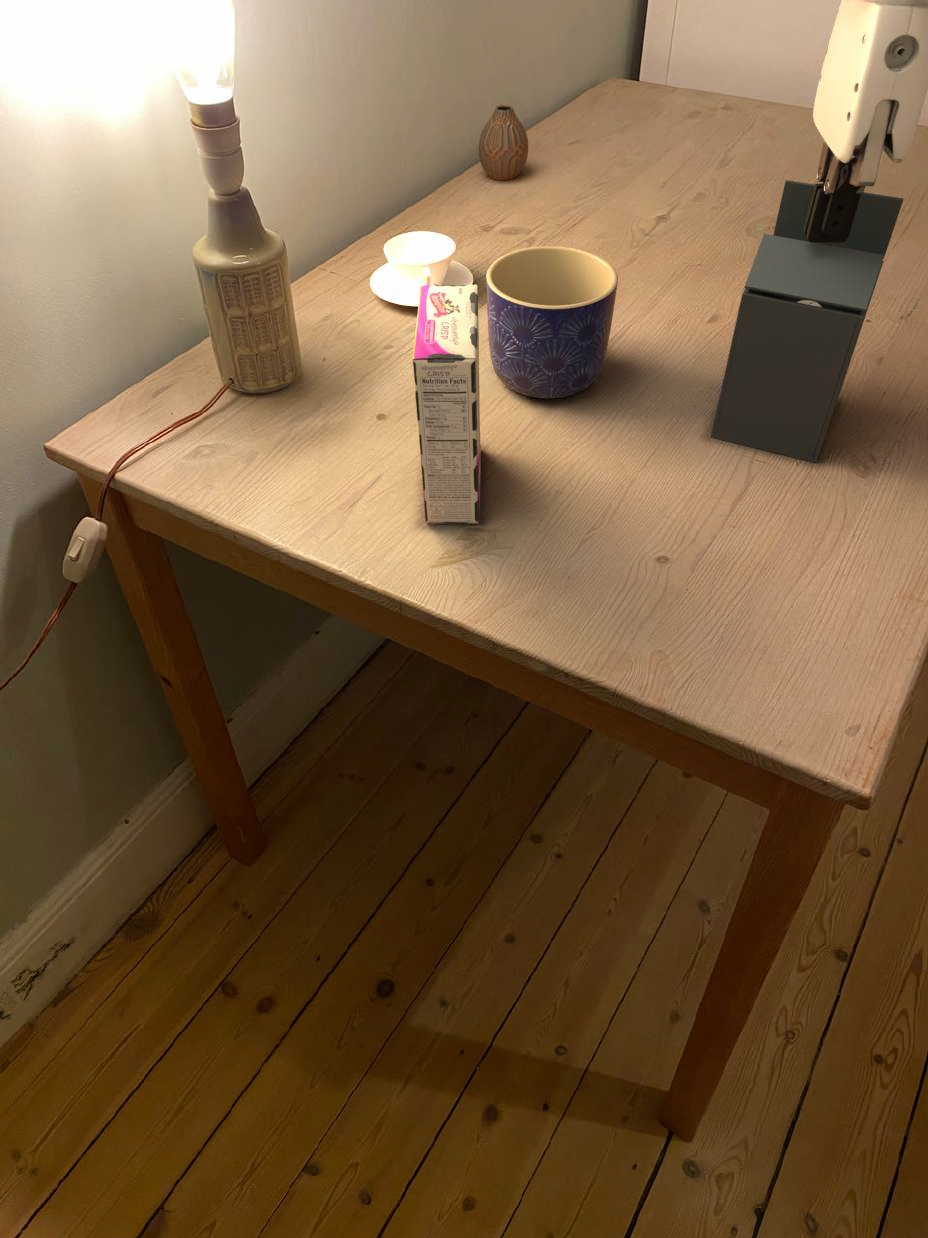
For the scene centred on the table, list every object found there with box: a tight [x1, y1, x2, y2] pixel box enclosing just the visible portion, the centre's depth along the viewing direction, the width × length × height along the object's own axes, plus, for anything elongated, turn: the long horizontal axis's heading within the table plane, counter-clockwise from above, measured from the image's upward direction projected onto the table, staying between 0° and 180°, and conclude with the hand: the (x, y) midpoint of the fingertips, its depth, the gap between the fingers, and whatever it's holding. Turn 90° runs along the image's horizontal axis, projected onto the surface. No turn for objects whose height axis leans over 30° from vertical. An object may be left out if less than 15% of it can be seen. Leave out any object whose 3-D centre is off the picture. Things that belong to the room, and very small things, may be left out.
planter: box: [485, 245, 619, 399], centre depth 90 cm, size 12×12×11 cm
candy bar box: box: [412, 284, 482, 525], centre depth 76 cm, size 11×5×16 cm, turn 179°
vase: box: [478, 104, 529, 181], centre depth 126 cm, size 7×7×9 cm
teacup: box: [369, 231, 474, 307], centre depth 105 cm, size 12×12×5 cm
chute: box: [710, 179, 905, 464], centre depth 81 cm, size 12×10×20 cm
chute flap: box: [744, 233, 885, 311], centre depth 74 cm, size 5×10×1 cm, turn 65°
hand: (824, 237), depth 74 cm, fingers closed
